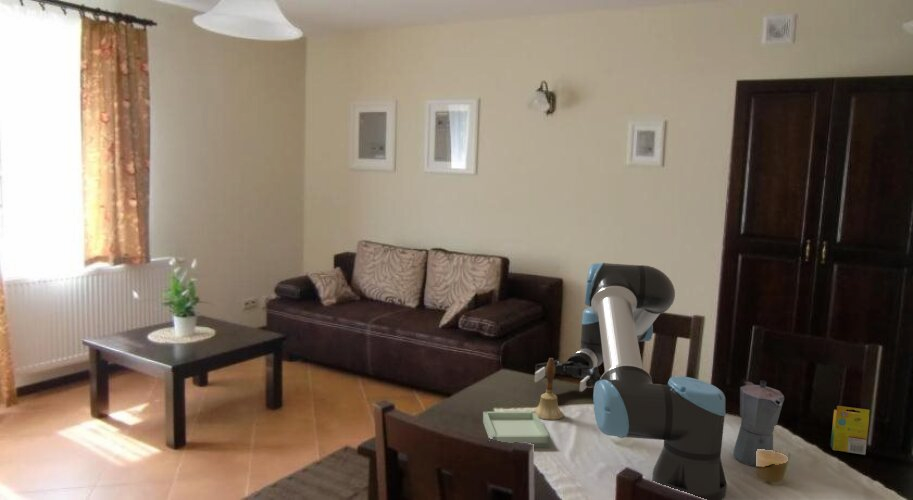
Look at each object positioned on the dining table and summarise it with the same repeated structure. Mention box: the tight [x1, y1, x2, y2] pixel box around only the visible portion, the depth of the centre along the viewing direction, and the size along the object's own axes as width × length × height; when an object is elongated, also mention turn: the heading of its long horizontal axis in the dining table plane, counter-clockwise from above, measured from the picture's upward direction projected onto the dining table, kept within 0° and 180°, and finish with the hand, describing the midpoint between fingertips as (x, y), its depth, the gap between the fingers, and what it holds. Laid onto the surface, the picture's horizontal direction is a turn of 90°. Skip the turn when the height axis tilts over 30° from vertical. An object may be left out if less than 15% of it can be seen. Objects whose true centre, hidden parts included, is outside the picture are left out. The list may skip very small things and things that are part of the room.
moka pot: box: [732, 377, 785, 468], centre depth 154 cm, size 10×15×20 cm, turn 15°
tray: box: [482, 411, 550, 449], centre depth 164 cm, size 16×14×3 cm
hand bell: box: [533, 357, 564, 421], centre depth 177 cm, size 8×8×16 cm
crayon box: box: [830, 405, 871, 456], centre depth 161 cm, size 7×3×12 cm, turn 70°
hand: (558, 381), depth 184 cm, fingers open, 13 cm apart
